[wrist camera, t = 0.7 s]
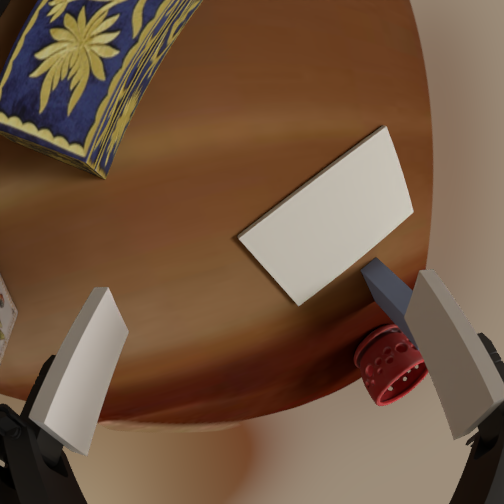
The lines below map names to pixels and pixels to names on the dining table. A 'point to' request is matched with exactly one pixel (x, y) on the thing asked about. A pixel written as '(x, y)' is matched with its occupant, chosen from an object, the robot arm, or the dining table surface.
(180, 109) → the dining table surface
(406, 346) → the plant pot
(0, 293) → the decorative jar
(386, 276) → the book
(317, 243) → the mat
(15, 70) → the decorative box
